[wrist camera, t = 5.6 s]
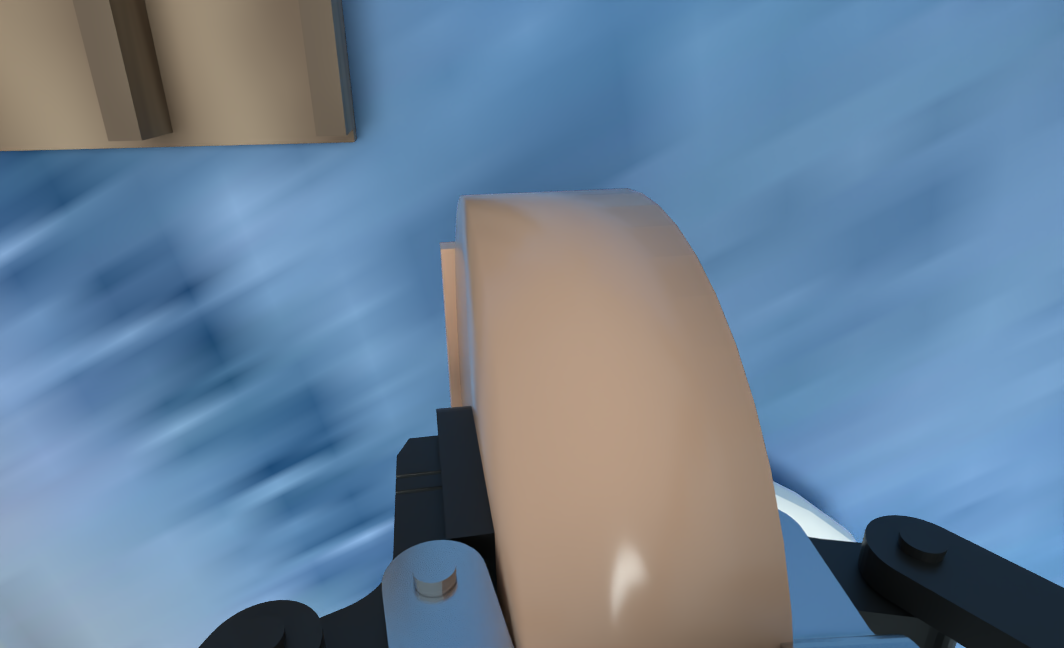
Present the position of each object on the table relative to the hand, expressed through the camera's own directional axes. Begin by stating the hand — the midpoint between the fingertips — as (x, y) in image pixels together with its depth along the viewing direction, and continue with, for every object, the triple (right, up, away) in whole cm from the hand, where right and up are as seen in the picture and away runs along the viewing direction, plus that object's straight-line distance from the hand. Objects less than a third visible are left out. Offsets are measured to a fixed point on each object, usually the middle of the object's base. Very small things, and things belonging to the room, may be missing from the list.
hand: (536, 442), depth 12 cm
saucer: (-1, +2, +4) cm, 4 cm away
